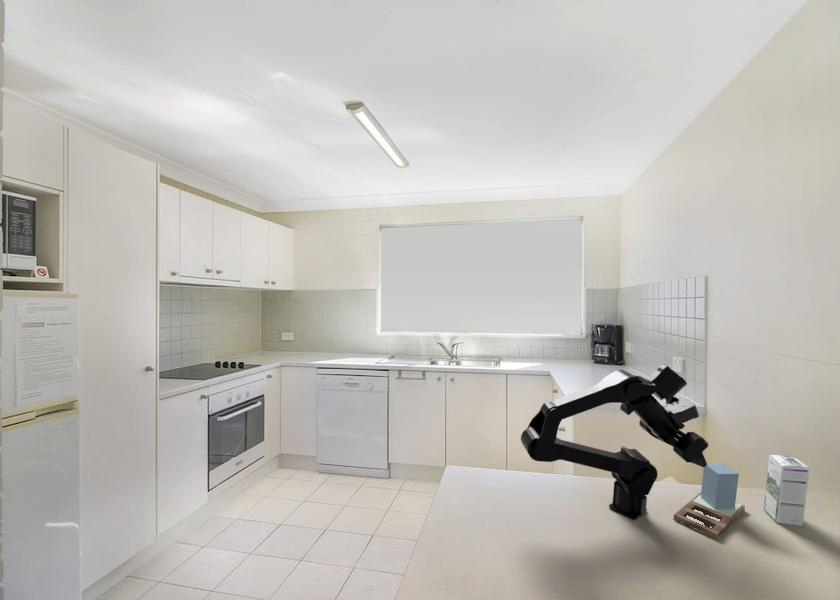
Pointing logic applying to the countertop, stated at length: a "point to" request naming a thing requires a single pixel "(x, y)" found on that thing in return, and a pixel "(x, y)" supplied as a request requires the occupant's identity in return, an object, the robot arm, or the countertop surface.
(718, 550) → the countertop surface
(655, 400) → the robot arm
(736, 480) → the blue block
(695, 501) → the board
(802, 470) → the syrup box
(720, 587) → the countertop surface
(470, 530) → the countertop surface
